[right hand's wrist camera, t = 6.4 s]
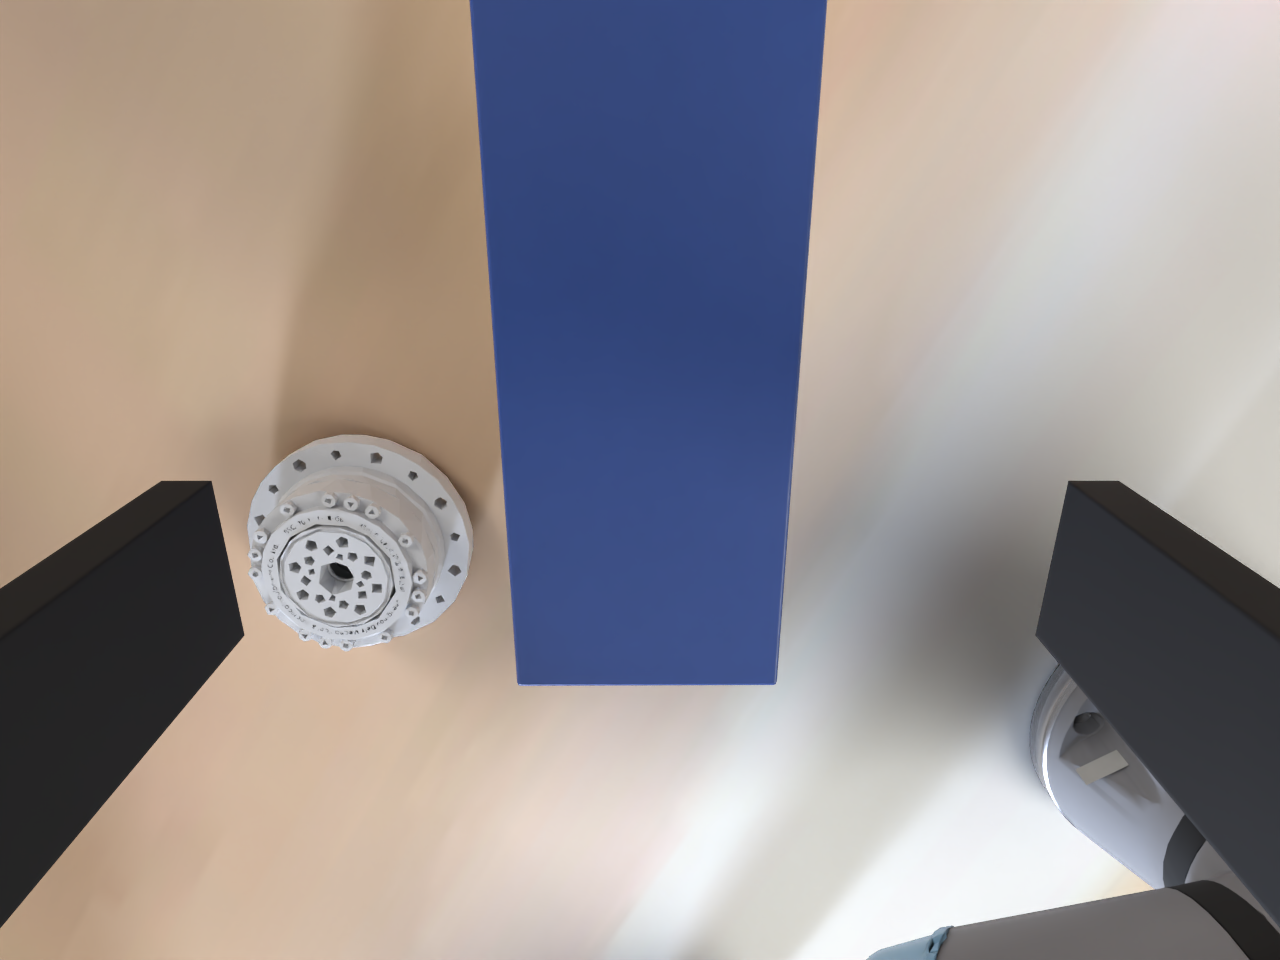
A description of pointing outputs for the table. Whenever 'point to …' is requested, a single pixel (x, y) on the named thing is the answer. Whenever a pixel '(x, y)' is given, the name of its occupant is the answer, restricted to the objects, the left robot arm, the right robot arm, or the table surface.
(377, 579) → the mechanical component
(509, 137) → the bar
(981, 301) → the table surface
